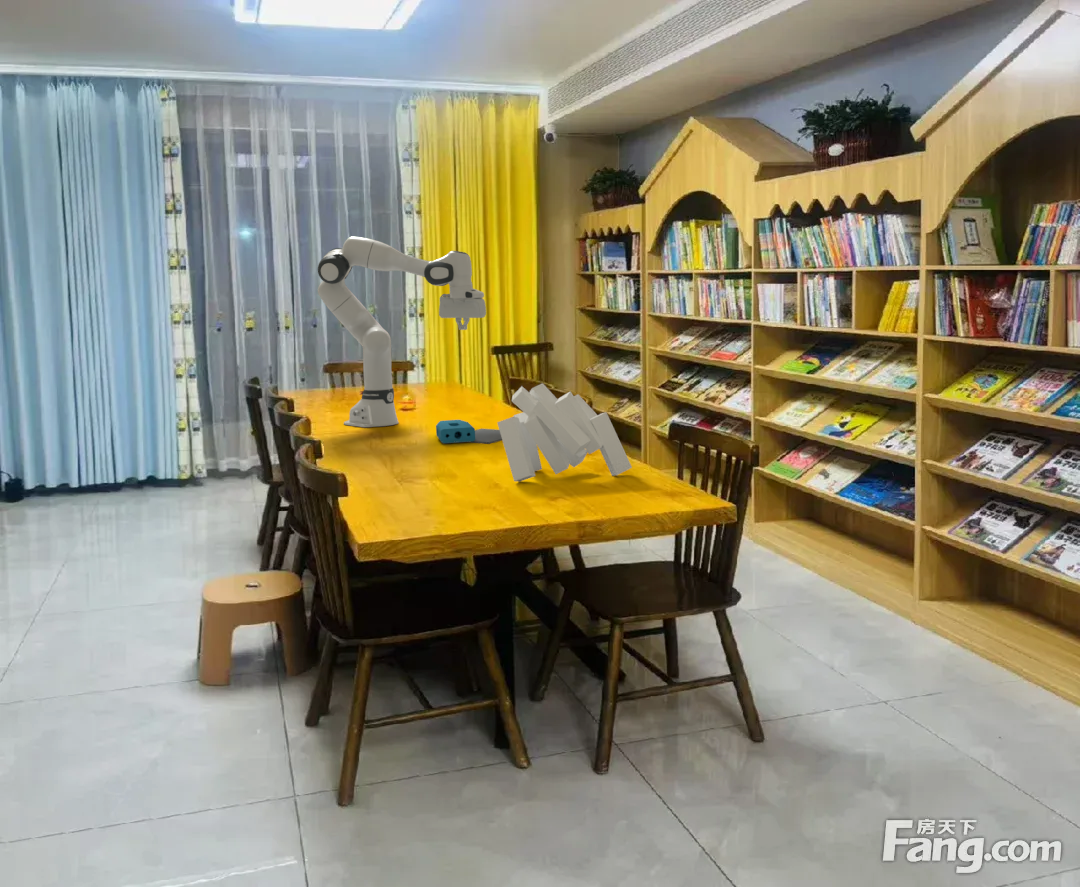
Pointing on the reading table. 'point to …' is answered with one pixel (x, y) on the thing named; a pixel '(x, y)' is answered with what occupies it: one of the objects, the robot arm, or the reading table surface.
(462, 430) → the block
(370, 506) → the reading table surface
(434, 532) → the reading table surface
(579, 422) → the pile of blocks
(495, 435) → the mat
